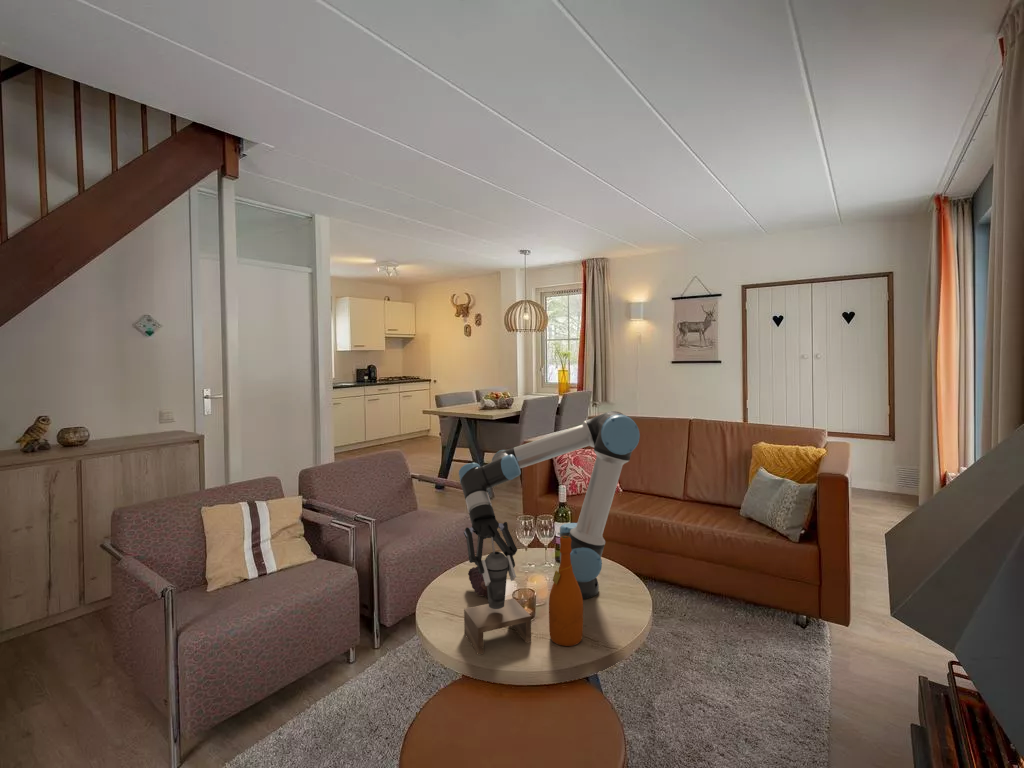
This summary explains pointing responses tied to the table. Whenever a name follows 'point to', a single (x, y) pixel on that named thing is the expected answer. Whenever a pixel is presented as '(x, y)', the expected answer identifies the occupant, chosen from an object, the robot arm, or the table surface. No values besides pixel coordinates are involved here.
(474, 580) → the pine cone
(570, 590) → the wine bottle
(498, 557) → the beverage cup
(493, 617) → the walnut shelf
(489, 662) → the table surface
